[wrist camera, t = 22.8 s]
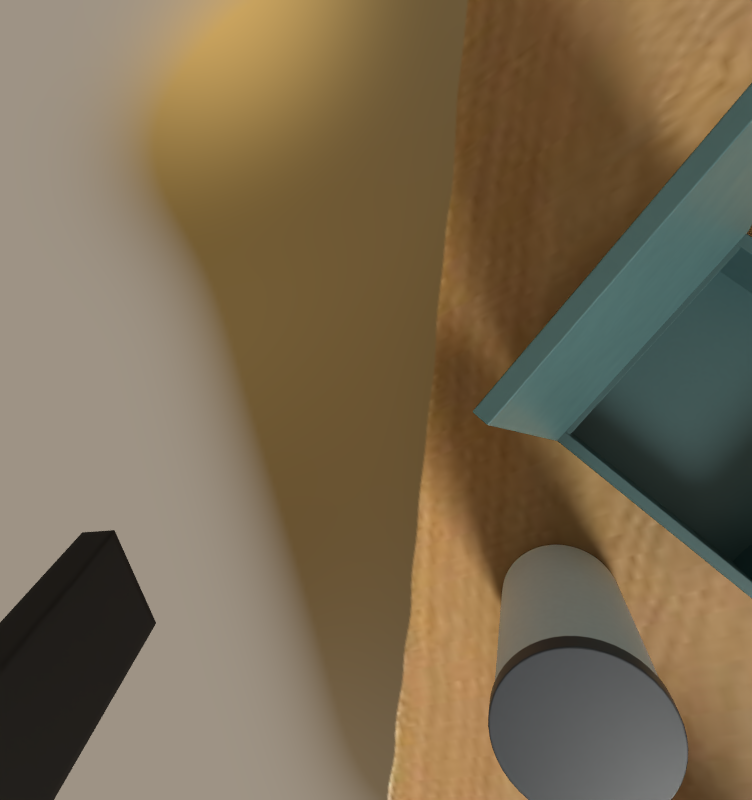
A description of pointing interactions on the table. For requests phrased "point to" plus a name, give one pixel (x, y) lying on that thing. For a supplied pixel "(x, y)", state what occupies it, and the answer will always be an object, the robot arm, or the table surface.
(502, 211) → the table surface
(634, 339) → the chest lid
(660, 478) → the chest
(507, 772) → the canister
